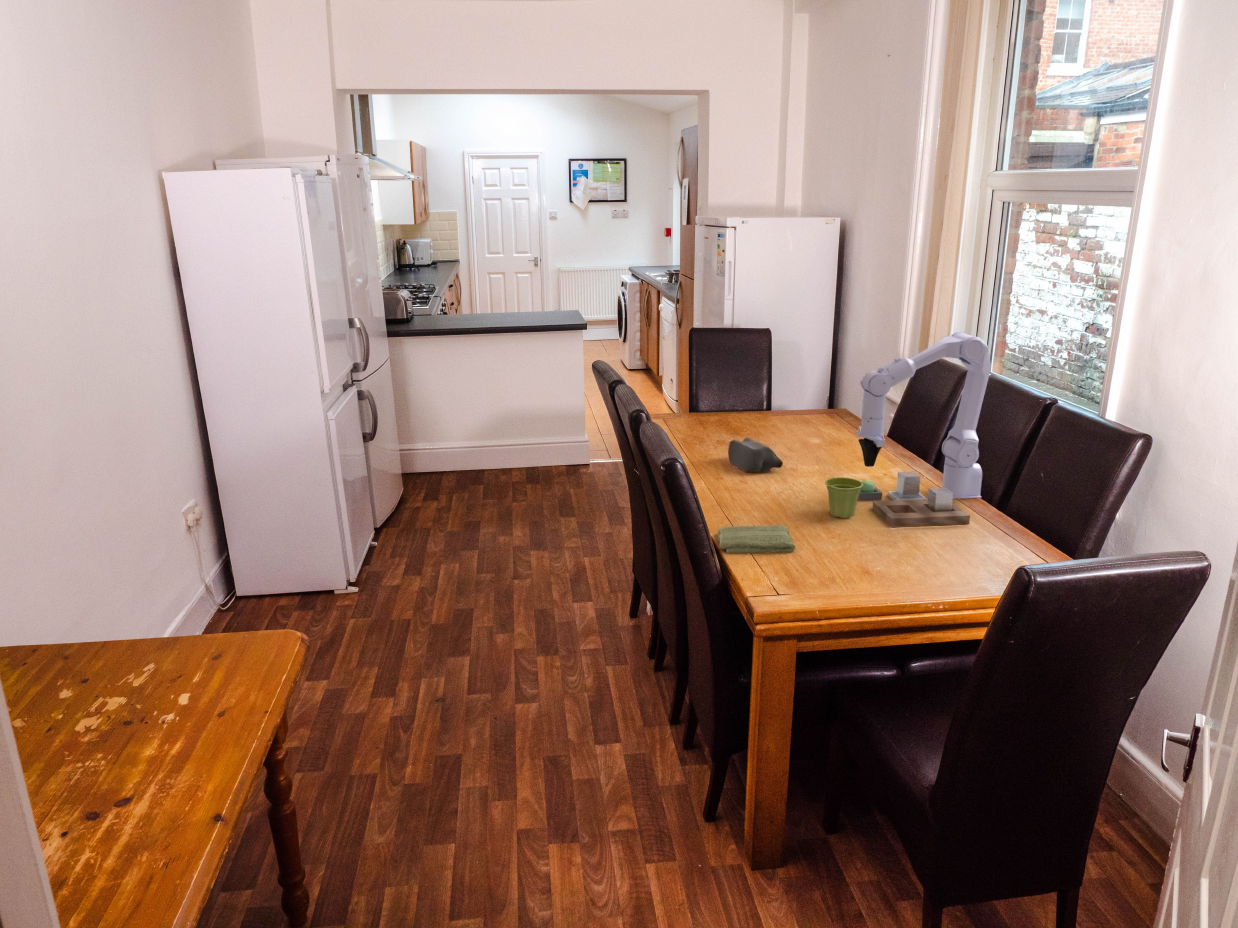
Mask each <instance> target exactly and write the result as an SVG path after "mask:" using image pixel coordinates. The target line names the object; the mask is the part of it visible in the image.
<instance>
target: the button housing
mask: <svg viewBox="0 0 1238 928" xmlns="http://www.w3.org/2000/svg"><path fill="white" fill-rule="evenodd" d="M882 498H883V492H882V491H881V490H880V489H879V488H877V487H876V486H875V488H874V492H862V491H861V490H860V492H859V495H858V500H859V501H860V502H863V501H864V502H865V501H883V499H882Z"/></svg>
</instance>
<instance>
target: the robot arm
mask: <svg viewBox="0 0 1238 928" xmlns="http://www.w3.org/2000/svg"><path fill="white" fill-rule="evenodd" d="M988 351H989V345H988V344H987V343H986V342H985V340H983V339H982V338H981V337H978V336H973V335H970V334H968V333H965V332H962V331H957V332H954V333H952V334H951V335H947V336H945V337H944V338H942V339H941V340H939V341H937V342H936V343H935V344H933V345H931V346H929V347H927V348H926V349H923V351H921V352H919V353H917V354H915V355H914V356H912V357H910V358H908V357H905V356H902V357H899V356H897V357H895V358H894V359H893V360H894V361H892V362H890V363H888V364H886V365H885V366H879V367H877V370H870V371H868V372H866V373H865V374H864V376H863V377H862V379H861V380H860V386H861V389H862V390H863V398H862V408H861V411H862V412H861V421H860V423H861V425H859V426H858V431H857V432H856V433H855V435H856V436H857V437H859V439H858V443H859V446H860V448H861V451H862V457H863V459H862V460H863V464H864V466H865V467H867V468H868V467H874V466H875V465H876V464H875V463H876V461H877V458H878V455H879V453H880V452H881V449H882V448H886V447H885V446H886V439H885V434H884V426H885V425H884V424H885V423H884V422H885V413H886V412H885V411H886V398H887V394H888V393H889V391H890V390H891V388H892V387H895V386H897V385H899V384H901V383H903V382H904V381H907V380H909V379H911V378H913V377H914V375H915V373H916V370H918V369H921V368H923V367H926V366H928V365H930V364H932V363H934V362H936V361H938V360H941V359H944V358H950V359H958V360H959V361H960V362H961V363H962V364H963V365H964V367H965V368H966V369H967V372H966V376H965V381H964V386H963V389H962V393H961V398H960V402H959V406H958V409H957V410H958V411H957V413H956V418H955V424H954V426H953V427H952V428H951V429H950V430H949V431H948V434H947V437H946V438H945V439H944V440H943V442H942V445H941V452H942V454H943V455H944V465H943V477H942V485H941V486H942V487H941V488H947V489H948V490H950V491H951V492H952V493H953V500H954V499H975V498H981V499H982V496H981V491H982V480H983V470H982V467H981V465H980V464H979V463H977V461H978V459H979V457H980V455H979V454H980V451H979V442H980V441H979V438H978V434H977V431H976V430H977V427H978V423H979V418H980V414H981V410H982V405H983V401H984V397H985V393H986V390H987V385H988V382H989V377H990V373H991V369H992V364H991V363H992V362H991V359H990V356H989V353H988ZM861 437H862V438H861Z"/></svg>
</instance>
